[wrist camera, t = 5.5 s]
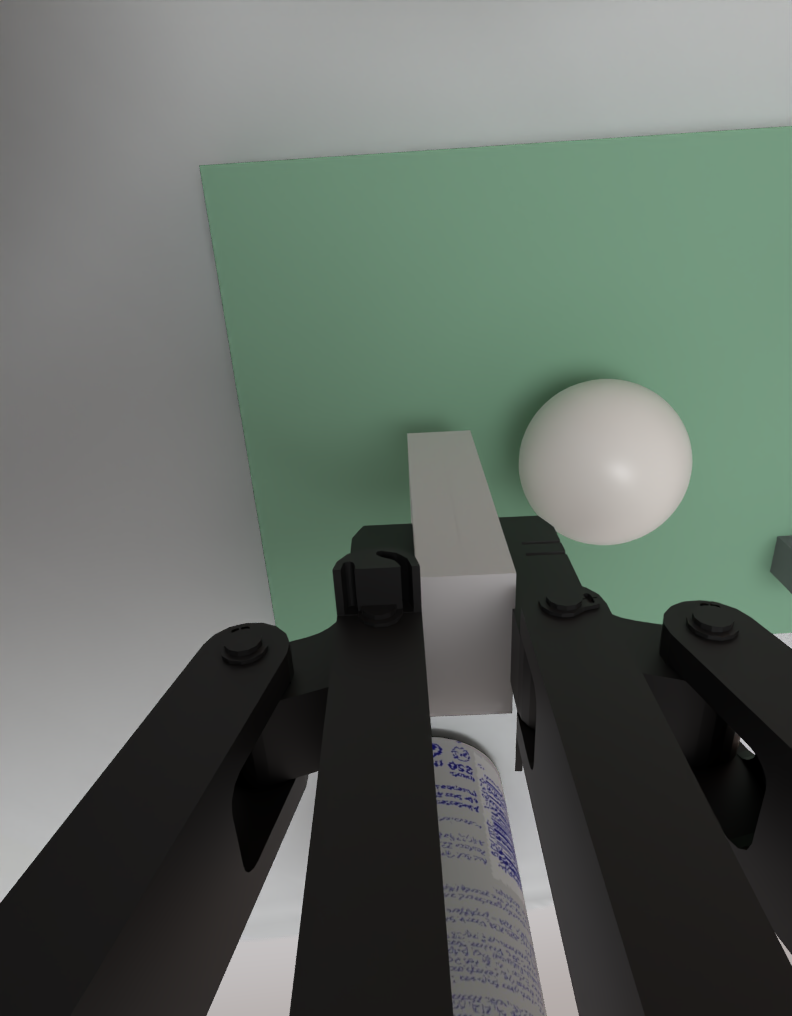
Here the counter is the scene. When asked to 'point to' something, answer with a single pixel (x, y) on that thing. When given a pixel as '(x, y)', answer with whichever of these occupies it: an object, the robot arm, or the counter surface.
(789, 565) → the grey u-shaped bracket
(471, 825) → the beverage can
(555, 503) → the ball
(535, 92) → the counter surface
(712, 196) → the green mat
